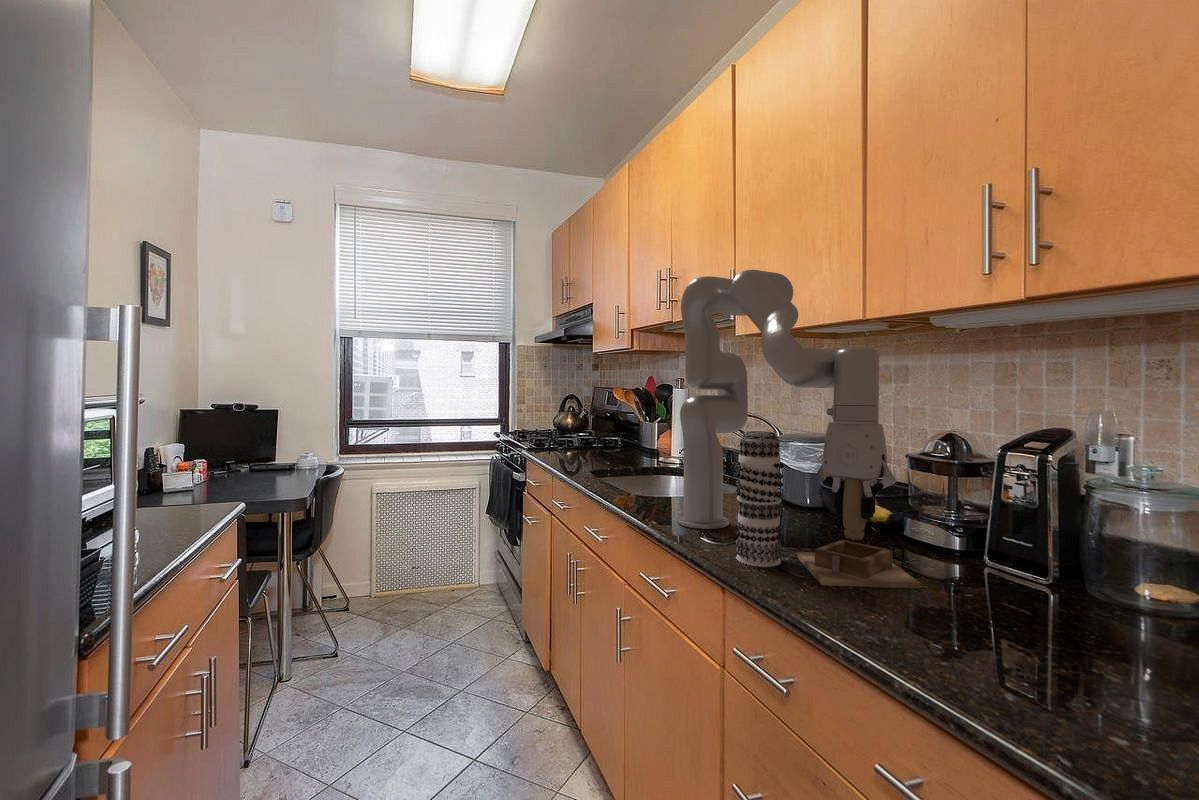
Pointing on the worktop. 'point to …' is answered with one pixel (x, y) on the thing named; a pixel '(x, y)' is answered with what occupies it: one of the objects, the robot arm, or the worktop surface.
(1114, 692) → the worktop surface
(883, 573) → the socket plate
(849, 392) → the robot arm
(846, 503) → the handle
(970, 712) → the worktop surface
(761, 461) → the decorative candle
